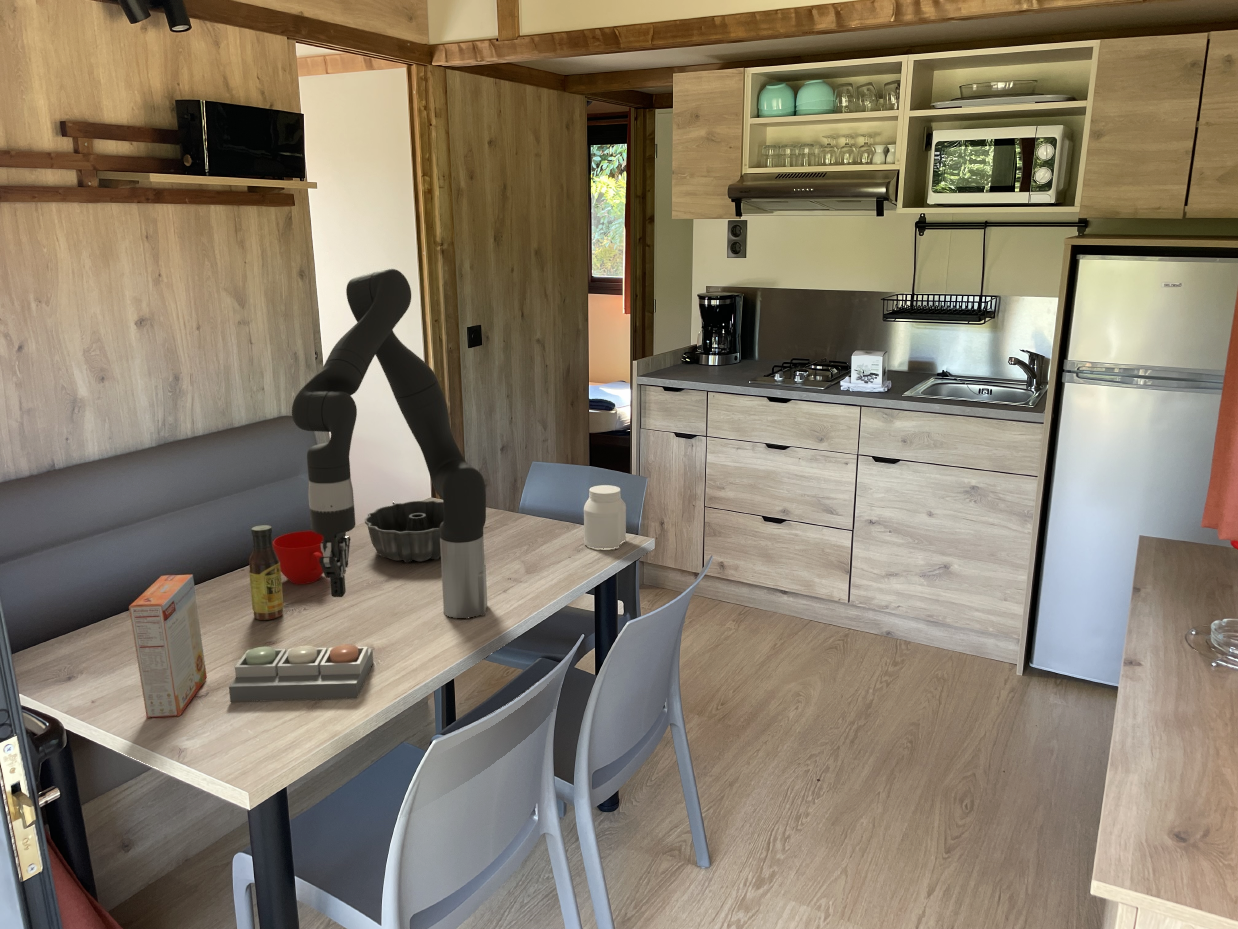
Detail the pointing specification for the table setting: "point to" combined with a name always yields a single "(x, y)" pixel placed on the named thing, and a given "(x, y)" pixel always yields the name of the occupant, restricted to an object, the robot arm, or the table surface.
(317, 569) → the ceramic cup
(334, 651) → the terracotta button
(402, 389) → the robot arm
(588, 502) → the jar
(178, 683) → the cracker box
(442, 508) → the bundt pan
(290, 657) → the cream button
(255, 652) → the sage button
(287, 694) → the button panel
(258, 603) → the sauce bottle
